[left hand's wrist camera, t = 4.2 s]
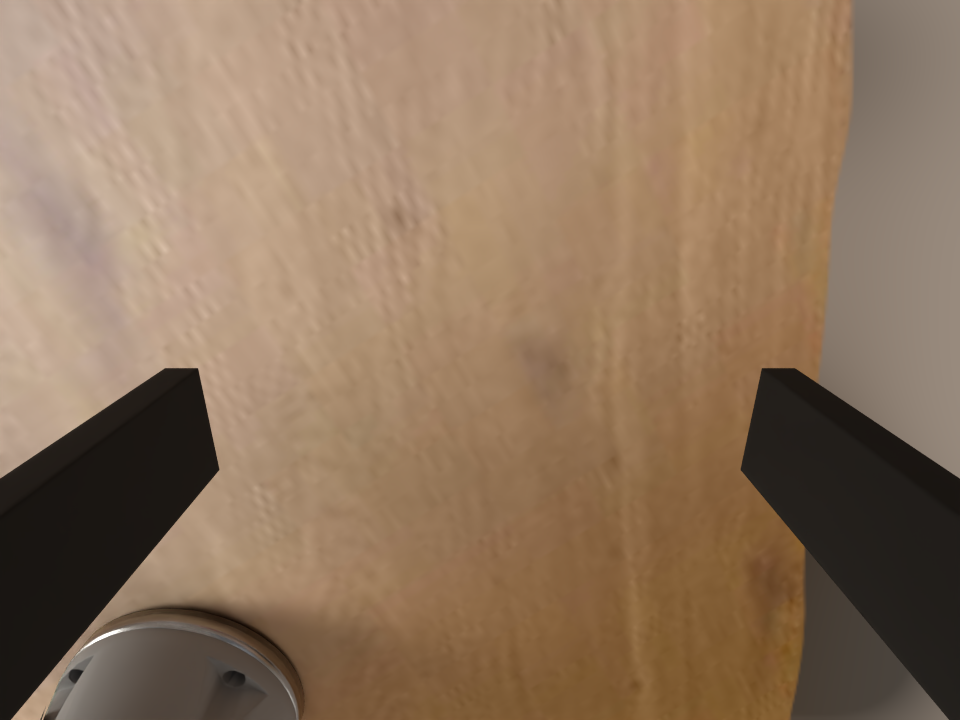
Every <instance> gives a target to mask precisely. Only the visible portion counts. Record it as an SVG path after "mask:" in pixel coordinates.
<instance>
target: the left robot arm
mask: <svg viewBox="0 0 960 720" xmlns="http://www.w3.org/2000/svg"><path fill="white" fill-rule="evenodd" d="M218 471H219V466H218V461H217V456H216V451H215V447H214V442H213V437H212V432H211V428H210V423H209V418H208V413H207V409H206V404H205V399H204V395H203V390H202V385H201V380H200V376H199V371H198V368H165V369H163V370H162V371H160V372H159V373H157V374H156V375H154V376H153V377H151V378H150V379H148V380H147V381H145V382H144V383H142V384H141V385H139V386H138V387H136V388H135V389H133V390H132V391H130V392H129V393H127V394H126V395H125V396H123V397H122V398H120V399H119V400H117V401H116V402H114V403H113V404H111V405H110V406H108V407H107V408H105V409H104V410H102V411H101V412H99V413H98V414H96V415H95V416H93V417H92V418H90V419H89V420H87V421H86V422H84V423H83V424H81V425H80V426H78V427H77V428H75V429H74V430H72V431H71V432H69V433H68V434H66V435H65V436H63V437H62V438H60V439H59V440H57V441H56V442H54V443H53V444H51V445H50V446H48V447H47V448H45V449H44V450H42V451H41V452H39V453H38V454H36V455H35V456H33V457H32V458H30V459H29V460H27V461H26V462H24V463H23V464H21V465H20V466H18V467H17V468H15V469H14V470H13V471H11V472H10V473H8V474H7V475H5V476H4V477H2V478H1V479H0V720H11V719H12V718H13V717H14V715H15V714H16V713H17V712H18V711H19V709H20V708H21V707H22V706H23V705H24V703H25V702H26V701H27V700H28V699H29V697H30V696H31V695H32V694H33V693H34V691H35V690H36V689H37V688H38V687H39V685H40V684H41V683H42V682H43V681H44V679H45V678H46V677H47V676H48V675H49V673H50V672H51V671H52V670H53V669H54V667H55V666H56V665H57V664H58V663H59V661H60V660H61V659H62V658H63V657H64V655H65V654H66V653H67V652H68V651H69V649H70V648H71V647H72V646H73V645H74V643H75V642H76V641H77V640H78V639H79V637H80V636H81V635H82V634H83V633H84V631H85V630H86V629H87V628H88V627H89V625H90V624H91V623H92V622H93V621H94V619H95V618H96V617H97V616H98V615H99V613H100V612H101V611H102V610H103V609H104V607H105V606H106V605H107V604H108V603H109V601H110V600H111V599H112V598H113V597H114V595H115V594H116V593H117V592H118V591H119V589H120V588H121V587H122V586H123V585H124V583H125V582H126V581H127V580H128V579H129V578H130V576H131V575H132V574H133V573H134V572H135V570H136V569H137V568H138V567H139V566H140V564H141V563H142V562H143V561H144V560H145V558H146V557H147V556H148V555H149V554H150V552H151V551H152V550H153V549H154V548H155V546H156V545H157V544H158V543H159V542H160V540H161V539H162V538H163V537H164V536H165V534H166V533H167V532H168V531H169V530H170V528H171V527H172V526H173V525H174V524H175V522H176V521H177V520H178V519H179V518H180V516H181V515H182V514H183V513H184V512H185V510H186V509H187V508H188V507H189V506H190V504H191V503H192V502H193V501H194V500H195V498H196V497H197V496H198V495H199V494H200V492H201V491H202V490H203V489H204V488H205V486H206V485H207V484H208V483H209V482H210V480H211V479H212V478H213V477H214V476H215V474H216V473H217V472H218ZM741 471H742V472H743V473H744V474H745V476H746V477H747V478H748V479H749V480H750V482H751V483H752V484H753V485H754V486H755V488H756V489H757V490H758V491H759V492H760V494H761V495H762V496H763V497H764V498H765V500H766V501H767V502H768V503H769V504H770V506H771V507H772V508H773V509H774V510H775V512H776V513H777V514H778V515H779V516H780V518H781V519H782V520H783V521H784V522H785V524H786V525H787V526H788V527H789V528H790V530H791V531H792V532H793V533H794V534H795V536H796V537H797V538H798V539H799V540H800V542H801V543H802V544H803V545H804V546H805V548H806V549H807V550H808V551H809V552H810V554H811V555H812V556H813V557H814V558H815V560H816V561H817V562H818V563H819V564H820V565H821V567H822V568H823V569H824V570H825V572H826V573H827V574H828V575H829V576H830V578H831V579H832V580H833V581H834V582H835V583H836V585H837V586H838V587H839V588H840V589H841V591H842V592H843V593H844V594H845V595H846V597H847V598H848V599H849V600H850V601H851V603H852V604H853V605H854V606H855V607H856V609H857V610H858V611H859V612H860V613H861V615H862V616H863V617H864V618H865V619H866V621H867V622H868V623H869V624H870V625H871V627H872V628H873V629H874V630H875V631H876V633H877V634H878V635H879V636H880V637H881V639H882V640H883V641H884V642H885V643H886V645H887V646H888V647H889V648H890V649H891V651H892V652H893V653H894V654H895V655H896V657H897V658H898V659H899V660H900V661H901V663H902V664H903V665H904V666H905V667H906V669H907V670H908V671H909V672H910V673H911V675H912V676H913V677H914V678H915V679H916V681H917V682H918V683H919V684H920V685H921V687H922V688H923V689H924V690H925V691H926V693H927V694H928V695H929V696H930V697H931V699H932V700H933V701H934V702H935V703H936V705H937V706H938V707H939V708H940V709H941V711H942V712H943V713H944V714H945V715H946V716H947V718H948V719H949V720H960V479H959V478H958V477H956V476H955V475H953V474H952V473H950V472H949V471H947V470H946V469H944V468H943V467H941V466H940V465H938V464H937V463H936V462H934V461H933V460H931V459H930V458H928V457H927V456H925V455H924V454H922V453H921V452H919V451H918V450H916V449H915V448H913V447H912V446H910V445H909V444H907V443H906V442H904V441H903V440H901V439H900V438H898V437H897V436H895V435H894V434H892V433H891V432H889V431H888V430H886V429H885V428H883V427H882V426H880V425H879V424H877V423H876V422H874V421H873V420H871V419H870V418H868V417H867V416H865V415H864V414H862V413H861V412H859V411H858V410H856V409H855V408H853V407H852V406H850V405H849V404H847V403H846V402H844V401H843V400H841V399H840V398H838V397H837V396H835V395H834V394H832V393H831V392H829V391H828V390H827V389H825V388H824V387H822V386H821V385H819V384H818V383H816V382H815V381H813V380H812V379H810V378H809V377H807V376H806V375H804V374H803V373H801V372H800V371H798V370H797V369H795V368H762V371H761V376H760V380H759V385H758V390H757V395H756V399H755V404H754V409H753V413H752V418H751V423H750V428H749V432H748V437H747V442H746V447H745V451H744V456H743V461H742V466H741ZM45 708H46V707H45ZM44 711H45V710H44ZM303 711H304V693H303V689H302V685H301V682H300V680H299V677H298V675H297V673H296V671H295V670H294V668H293V667H292V665H291V664H290V662H289V661H288V660H287V659H286V657H285V656H284V655H283V654H282V653H281V652H280V651H279V650H278V649H277V648H276V647H275V646H273V645H272V644H271V643H270V642H269V641H267V640H266V639H264V638H263V637H262V636H260V635H259V634H257V633H255V632H254V631H252V630H250V629H248V628H246V627H244V626H242V625H240V624H238V623H236V622H233V621H231V620H228V619H225V618H222V617H219V616H216V615H212V614H209V613H204V612H199V611H194V610H185V609H153V610H145V611H140V612H135V613H131V614H128V615H125V616H122V617H120V618H117V619H115V620H113V621H111V622H109V623H107V624H106V625H104V626H103V627H101V628H100V629H99V630H97V631H96V632H95V633H94V634H93V635H92V636H91V637H90V638H89V639H88V640H87V642H86V643H85V644H84V645H83V647H82V648H81V649H80V650H79V652H78V653H77V654H76V655H75V656H74V658H73V659H72V660H71V662H70V663H69V665H68V666H67V668H66V670H65V672H64V674H63V675H62V677H61V679H60V681H59V683H58V685H57V688H56V691H55V693H54V695H53V698H52V700H51V702H50V705H49V707H48V710H47V712H46V715H45V717H44V719H43V720H301V719H302V716H303ZM43 714H44V712H43ZM42 717H43V715H42ZM42 717H41V719H40V720H42Z"/></svg>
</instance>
